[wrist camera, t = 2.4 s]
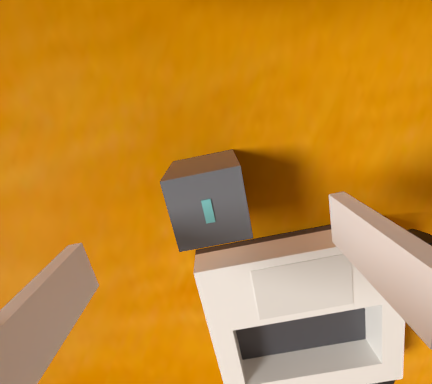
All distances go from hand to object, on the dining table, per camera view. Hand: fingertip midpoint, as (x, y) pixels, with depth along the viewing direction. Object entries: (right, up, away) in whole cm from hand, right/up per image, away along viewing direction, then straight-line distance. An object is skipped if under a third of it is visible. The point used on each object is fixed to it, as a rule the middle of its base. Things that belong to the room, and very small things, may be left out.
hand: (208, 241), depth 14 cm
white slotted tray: (+8, -9, +13) cm, 17 cm away
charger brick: (0, +3, +9) cm, 9 cm away
